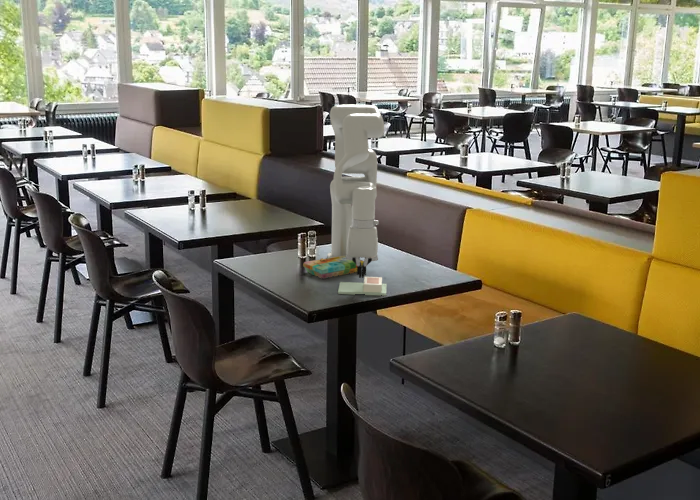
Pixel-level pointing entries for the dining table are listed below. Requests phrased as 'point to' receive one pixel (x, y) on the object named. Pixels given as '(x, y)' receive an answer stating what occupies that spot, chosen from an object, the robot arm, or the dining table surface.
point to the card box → (372, 284)
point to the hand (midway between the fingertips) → (361, 276)
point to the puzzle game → (331, 266)
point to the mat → (358, 289)
